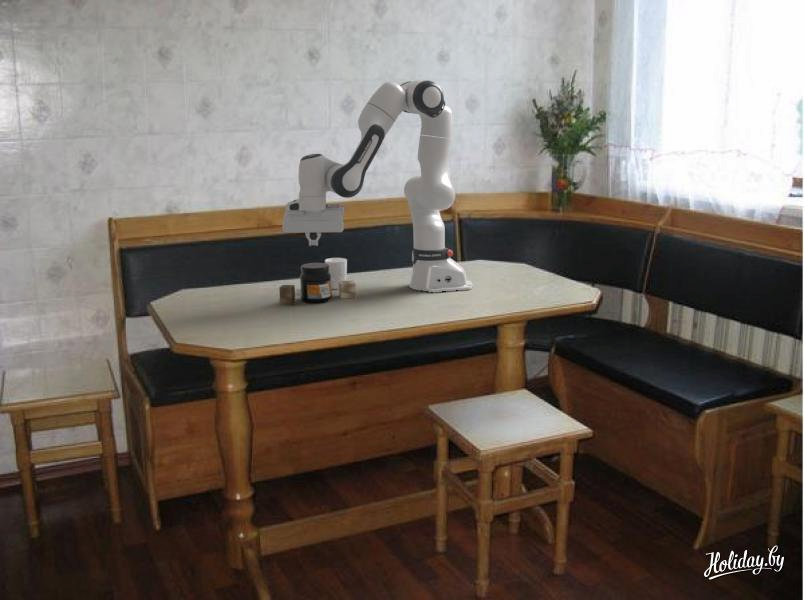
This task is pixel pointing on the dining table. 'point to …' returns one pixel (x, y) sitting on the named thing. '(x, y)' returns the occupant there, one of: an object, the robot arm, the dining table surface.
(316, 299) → the supplement container
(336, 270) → the white cup
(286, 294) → the walnut block
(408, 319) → the dining table surface
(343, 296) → the beech block
